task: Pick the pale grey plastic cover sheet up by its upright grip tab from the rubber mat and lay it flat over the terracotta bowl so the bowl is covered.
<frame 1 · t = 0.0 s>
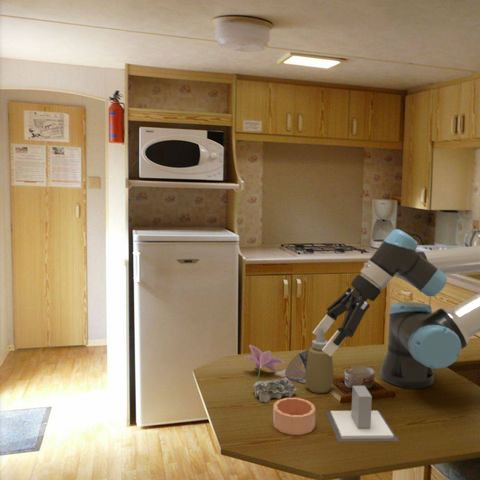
hand: (321, 344, 134), 15 cm above the table, tool tilted 35°, fingers open, 13 cm apart
cover sheet: (360, 425, 121), point 1 cm above the table, touching rubber mat
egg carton: (274, 396, 138), on the table
rubber mat: (360, 427, 121), on the table
bowl: (293, 426, 121), on the table
squeeze bottle: (318, 390, 141), on the table, touching gripper
lily: (263, 375, 152), on the table
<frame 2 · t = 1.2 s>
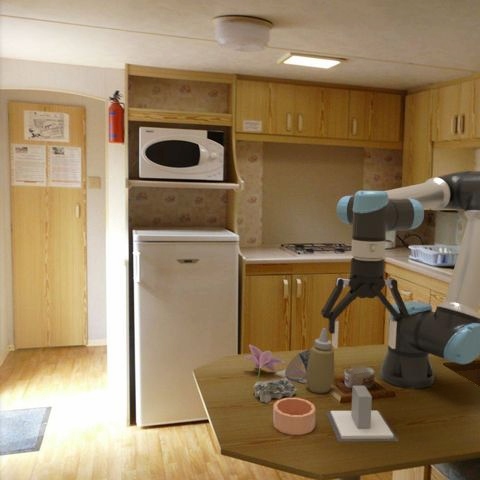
hand: (363, 346, 118), 20 cm above the table, tool pointing down, fingers open, 13 cm apart
squeeze bottle: (318, 390, 141), on the table
everything else where it was.
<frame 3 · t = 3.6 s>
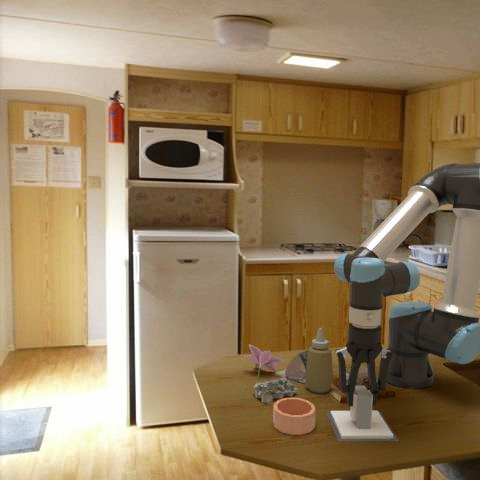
hand: (360, 418, 120), 3 cm above the table, tool pointing down, fingers closed on cover sheet, 3 cm apart
cover sheet: (360, 425, 121), point 1 cm above the table, touching gripper, rubber mat
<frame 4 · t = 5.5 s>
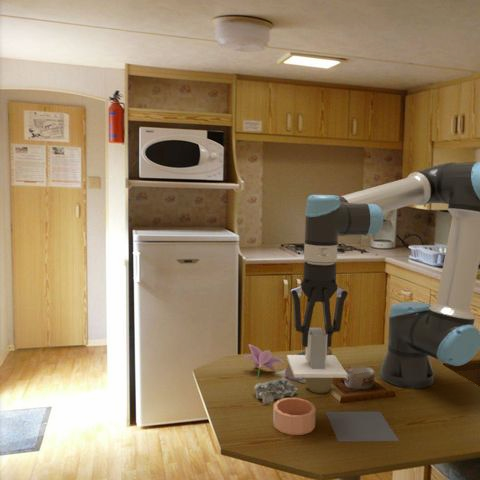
hand: (315, 359, 118), 17 cm above the table, tool pointing down, fingers closed on cover sheet, 3 cm apart
cover sheet: (315, 367, 119), point 15 cm above the table, touching gripper
everything else where it was.
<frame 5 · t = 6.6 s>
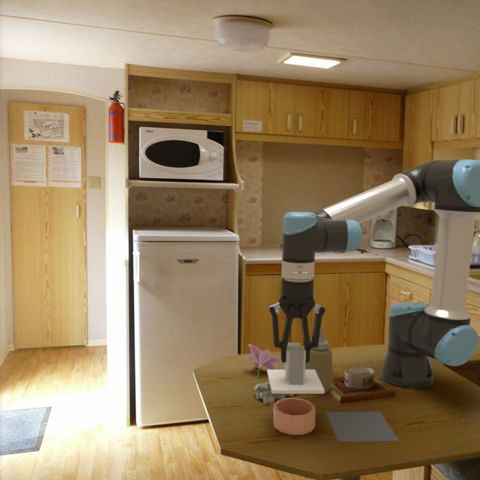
hand: (294, 374, 119), 13 cm above the table, tool pointing down, fingers closed on cover sheet, 3 cm apart
cover sheet: (294, 382, 119), point 11 cm above the table, touching gripper
everything else where it was.
when the fingers open (9 cm above the table, at t = 7.5 s): cover sheet drops 2 cm, resting on bowl.
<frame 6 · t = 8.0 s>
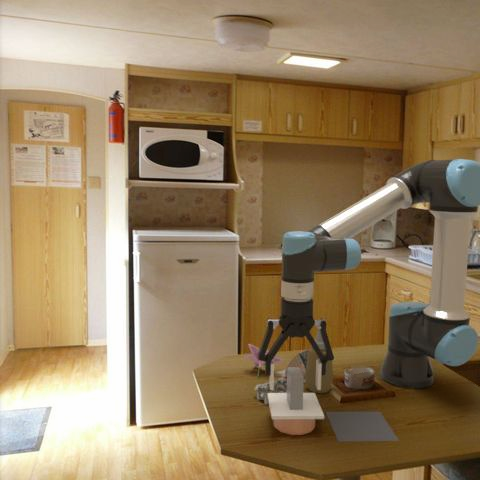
hand: (294, 387, 120), 10 cm above the table, tool pointing down, fingers open, 10 cm apart
cover sheet: (294, 406, 120), point 5 cm above the table, touching bowl
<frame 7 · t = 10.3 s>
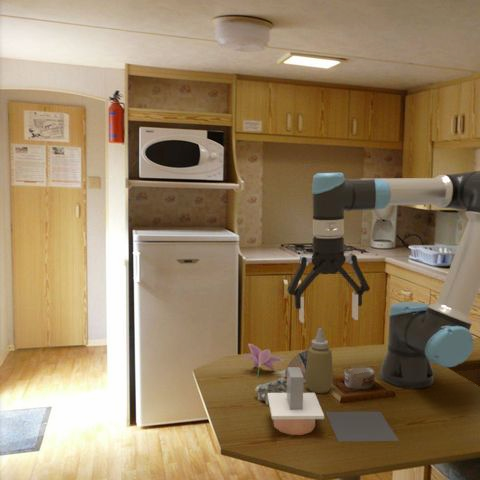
hand: (328, 319, 126), 24 cm above the table, tool pointing down, fingers open, 13 cm apart
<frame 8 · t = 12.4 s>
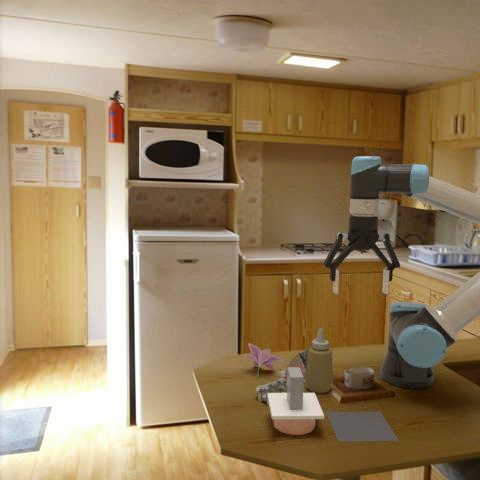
hand: (360, 293, 136), 29 cm above the table, tool pointing down, fingers open, 13 cm apart
at the end: cover sheet 0.0 cm from the bowl (horizontally); cover sheet point 5.0 cm above the table; cover sheet tilted 0° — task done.
